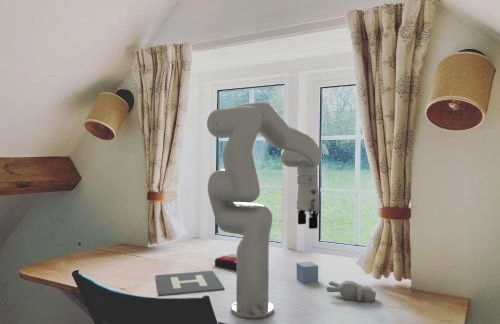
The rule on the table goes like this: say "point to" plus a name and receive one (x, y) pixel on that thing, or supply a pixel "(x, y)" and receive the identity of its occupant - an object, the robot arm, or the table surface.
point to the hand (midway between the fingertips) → (307, 226)
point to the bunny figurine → (352, 291)
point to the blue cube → (307, 272)
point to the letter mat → (188, 283)
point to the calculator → (227, 262)
